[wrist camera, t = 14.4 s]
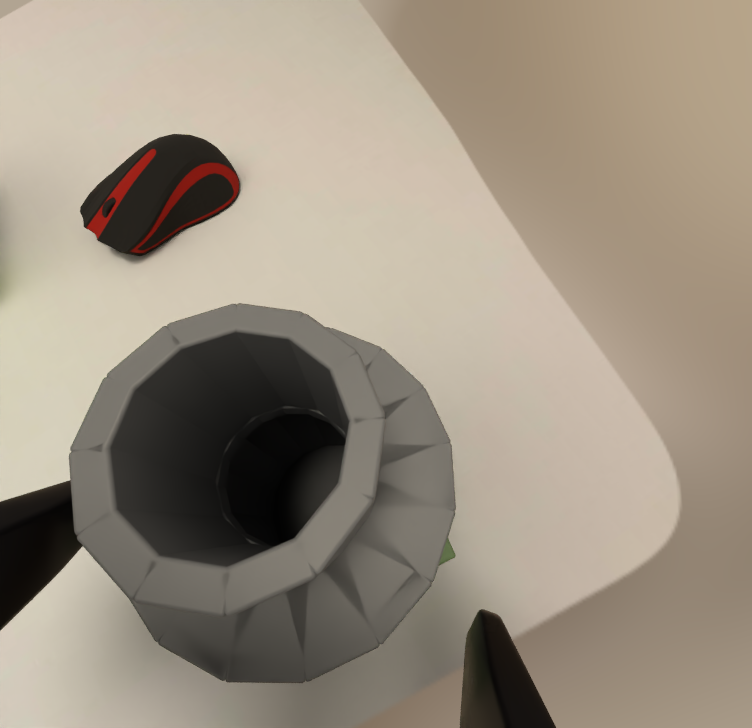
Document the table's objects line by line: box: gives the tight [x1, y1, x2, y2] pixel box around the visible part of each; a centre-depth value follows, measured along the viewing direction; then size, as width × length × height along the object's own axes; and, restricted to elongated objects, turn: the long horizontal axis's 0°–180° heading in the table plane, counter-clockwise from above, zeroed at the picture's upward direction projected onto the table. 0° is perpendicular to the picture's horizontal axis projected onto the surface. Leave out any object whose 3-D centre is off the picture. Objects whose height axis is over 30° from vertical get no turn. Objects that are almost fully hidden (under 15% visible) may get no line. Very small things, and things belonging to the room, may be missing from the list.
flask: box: [69, 303, 456, 683], centre depth 10 cm, size 6×6×14 cm
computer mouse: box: [80, 134, 239, 256], centre depth 26 cm, size 6×11×4 cm, turn 137°
